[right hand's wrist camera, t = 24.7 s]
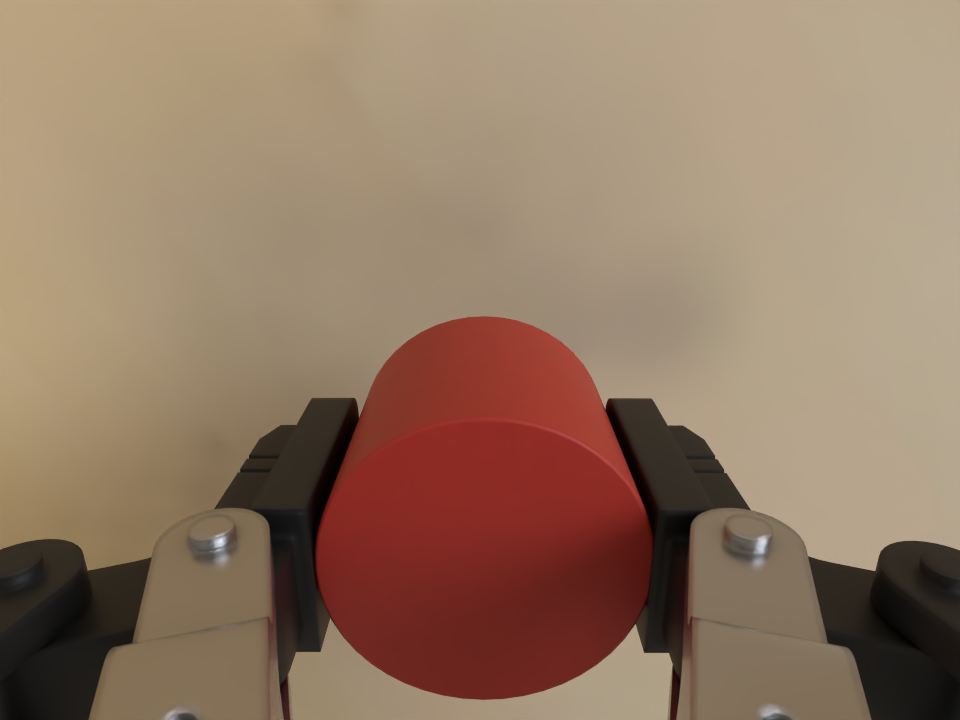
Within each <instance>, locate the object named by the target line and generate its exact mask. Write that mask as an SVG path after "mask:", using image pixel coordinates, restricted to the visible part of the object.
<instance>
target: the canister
mask: <svg viewBox="0 0 960 720" xmlns="http://www.w3.org/2000/svg"><path fill="white" fill-rule="evenodd" d="M652 550H653V531H652V528H651V524H650V521H649V517H648V514H647V512H646V509H645V507H644V504H643V502H642V499H641V497H640V495H639V492H638V490H637V487H636V485H635V482H634V480H633V477H632V475H631V472H630V470H629V467H628V465H627V462H626V460H625V457H624V455H623V453H622V450H621V448H620V445H619V443H618V440H617V438H616V435H615V433H614V430H613V428H612V425H611V423H610V420H609V418H608V416H607V413H606V411H605V408H604V406H603V403H602V401H601V398H600V396H599V393H598V391H597V389H596V386H595V384H594V382H593V380H592V378H591V376H590V374H589V373H588V371H587V370H586V368H585V366H584V365H583V363H582V362H581V361H580V360H579V359H578V358H577V357H576V355H575V354H574V353H573V352H572V351H571V350H570V349H569V348H567V347H566V346H565V345H564V344H563V343H562V342H560V341H559V340H557V339H556V338H554V337H553V336H551V335H550V334H548V333H546V332H544V331H542V330H540V329H538V328H536V327H534V326H531V325H528V324H525V323H522V322H519V321H516V320H511V319H506V318H499V317H485V316H484V317H468V318H462V319H457V320H451V321H448V322H445V323H442V324H439V325H436V326H434V327H432V328H429V329H427V330H425V331H423V332H421V333H419V334H418V335H416V336H415V337H413V338H412V339H410V340H408V341H407V342H406V343H405V344H404V345H402V346H401V347H400V348H399V349H398V350H396V351H395V352H394V354H393V355H392V356H391V357H390V358H389V359H388V360H387V361H386V363H385V364H384V366H383V367H382V368H381V370H380V371H379V373H378V374H377V376H376V378H375V380H374V383H373V385H372V387H371V389H370V392H369V394H368V397H367V399H366V402H365V405H364V407H363V410H362V412H361V415H360V418H359V420H358V423H357V425H356V428H355V431H354V433H353V436H352V438H351V441H350V444H349V446H348V449H347V451H346V454H345V457H344V459H343V462H342V465H341V467H340V470H339V472H338V475H337V478H336V480H335V483H334V485H333V488H332V491H331V493H330V496H329V498H328V501H327V504H326V506H325V509H324V511H323V514H322V518H321V521H320V524H319V527H318V530H317V537H316V544H315V572H316V578H317V583H318V588H319V591H320V594H321V597H322V600H323V603H324V606H325V608H326V610H327V612H328V614H329V616H330V617H331V619H332V621H333V623H334V624H335V626H336V627H337V629H338V630H339V632H340V633H341V634H342V636H343V637H344V638H345V639H346V641H347V642H348V643H349V644H350V645H351V646H352V647H353V648H354V649H355V650H356V651H357V652H358V653H359V654H360V655H361V656H363V657H364V658H365V659H366V660H367V661H369V662H370V663H371V664H372V665H374V666H375V667H377V668H378V669H380V670H382V671H383V672H385V673H386V674H388V675H390V676H392V677H394V678H396V679H398V680H400V681H401V682H403V683H406V684H408V685H411V686H414V687H416V688H419V689H422V690H424V691H428V692H432V693H436V694H440V695H444V696H450V697H457V698H463V699H481V700H486V699H505V698H512V697H519V696H525V695H529V694H533V693H537V692H541V691H545V690H547V689H550V688H553V687H556V686H558V685H561V684H563V683H565V682H568V681H570V680H572V679H574V678H576V677H578V676H580V675H581V674H583V673H585V672H586V671H588V670H589V669H591V668H592V667H594V666H596V665H597V664H598V663H599V662H601V661H602V660H603V659H604V658H606V657H607V656H608V655H609V654H610V653H612V652H613V650H614V649H615V648H616V647H617V646H618V645H619V644H620V643H621V642H622V641H623V640H624V639H625V638H626V636H627V635H628V633H629V632H630V631H631V629H632V628H633V627H634V625H635V624H636V622H637V620H638V618H639V616H640V615H641V613H642V611H643V609H644V607H645V604H646V601H647V596H648V588H649V579H650V570H651V561H652Z"/></svg>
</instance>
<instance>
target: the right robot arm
mask: <svg viewBox="0 0 960 720" xmlns="http://www.w3.org/2000/svg"><path fill="white" fill-rule="evenodd" d="M605 411H606V413H607V416H608V418H609V420H610V423H611V425H612V428H613V430H614V433H615V435H616V438H617V440H618V443H619V445H620V448H621V450H622V453H623V455H624V457H625V460H626V462H627V465H628V467H629V470H630V472H631V475H632V477H633V480H634V482H635V485H636V487H637V490H638V492H639V495H640V497H641V499H642V502H643V504H644V507H645V509H646V512H647V514H648V517H649V521H650V524H651V528H652V531H653V550H652V561H651V570H650V579H649V588H648V596H647V601H646V604H645V607H644V609H643V611H642V613H641V615H640V616H639V618H638V620H637V622H636V626H637V630H638V633H639V637H640V640H641V643H642V647H643V650H644V653H669V654H670V657H671V660H672V663H673V667H672V675H671V682H670V690H669V707H668V720H960V550H957V549H954V548H951V547H947V546H944V545H939V544H935V543H929V542H922V541H902V542H896V543H893V544H890V545H888V546H886V547H885V548H884V549H883V550H882V551H881V553H880V555H879V559H878V563H877V567H876V571H871V570H866V569H861V568H856V567H851V566H846V565H840V564H835V563H830V562H826V561H822V560H818V559H815V558H812V557H809V556H808V554H807V550H806V547H805V544H804V542H803V540H802V539H801V537H800V536H799V535H798V534H797V533H796V532H795V531H794V530H793V529H791V528H790V527H789V526H788V525H786V524H784V523H783V522H781V521H779V520H777V519H775V518H773V517H771V516H768V515H765V514H763V513H759V512H756V511H751V510H750V508H749V507H748V505H747V504H746V502H745V501H744V499H743V498H742V496H741V495H740V493H739V492H738V490H737V489H736V487H735V486H734V484H733V482H732V481H731V479H730V478H729V476H728V475H727V473H724V469H723V467H722V466H721V464H720V463H719V461H718V460H717V459H715V455H714V454H713V452H712V451H711V449H710V448H709V446H708V445H707V443H706V442H705V440H704V439H702V438H701V437H699V436H698V435H696V434H695V433H693V432H692V431H690V430H689V429H687V428H686V427H684V426H667V424H666V422H665V420H664V419H663V417H662V415H661V413H660V412H659V410H658V408H657V406H656V405H655V403H654V401H653V400H652V399H639V398H610V399H608V401H607V404H606V410H605ZM358 420H359V414H358V406H357V402H356V399H355V398H312V399H311V400H310V402H309V404H308V406H307V407H306V409H305V411H304V413H303V415H302V416H301V418H300V420H299V422H298V423H297V425H280V426H279V427H277V428H276V429H274V430H273V431H271V432H270V433H268V434H267V435H265V436H264V437H262V438H261V439H260V440H259V441H258V443H257V444H256V446H255V447H254V449H253V450H252V452H251V453H250V455H249V459H247V460H246V461H245V463H244V464H243V466H242V467H241V469H240V473H237V475H236V476H235V478H234V480H233V481H232V483H231V484H230V486H229V487H228V489H227V490H226V492H225V493H224V495H223V496H222V498H221V500H220V501H219V503H218V504H217V506H216V507H215V509H214V510H209V511H204V512H201V513H197V514H195V515H192V516H189V517H187V518H185V519H183V520H181V521H179V522H177V523H176V524H174V525H172V526H171V527H170V528H169V529H167V530H166V531H165V532H164V533H163V534H162V535H161V536H160V537H159V539H158V540H157V542H156V544H155V547H154V550H153V554H152V557H151V558H148V559H144V560H140V561H135V562H131V563H125V564H120V565H115V566H110V567H105V568H100V569H95V570H90V571H87V567H86V563H85V559H84V555H83V552H82V550H81V548H80V547H79V546H78V545H76V544H74V543H72V542H69V541H66V540H59V539H44V540H35V541H29V542H24V543H20V544H16V545H13V546H10V547H7V548H4V549H1V550H0V720H292V707H291V690H290V682H289V675H288V673H289V671H290V668H291V665H292V662H293V659H294V656H295V653H296V652H320V651H321V648H322V644H323V641H324V637H325V634H326V630H327V627H328V624H329V620H330V616H329V614H328V612H327V610H326V608H325V606H324V603H323V600H322V597H321V594H320V591H319V588H318V583H317V578H316V572H315V544H316V537H317V530H318V527H319V524H320V521H321V518H322V514H323V511H324V509H325V506H326V504H327V501H328V498H329V496H330V493H331V491H332V488H333V485H334V483H335V480H336V478H337V475H338V472H339V470H340V467H341V465H342V462H343V459H344V457H345V454H346V451H347V449H348V446H349V444H350V441H351V438H352V436H353V433H354V431H355V428H356V425H357V423H358Z"/></svg>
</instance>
